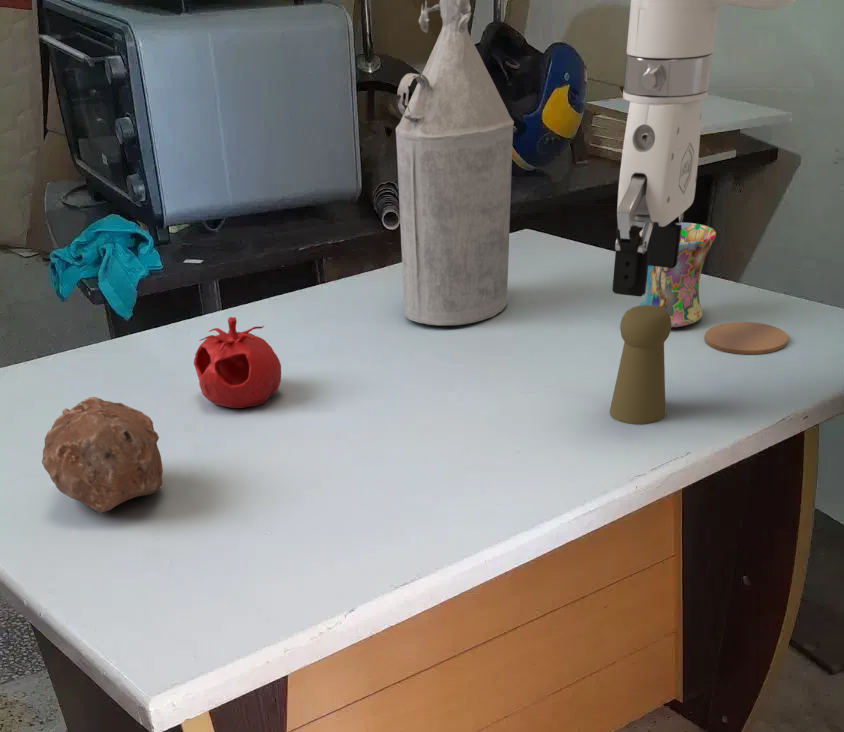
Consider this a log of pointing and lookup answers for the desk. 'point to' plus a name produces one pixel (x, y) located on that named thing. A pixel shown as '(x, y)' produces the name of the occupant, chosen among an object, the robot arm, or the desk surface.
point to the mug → (681, 277)
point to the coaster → (746, 338)
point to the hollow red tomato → (237, 368)
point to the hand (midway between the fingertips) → (645, 279)
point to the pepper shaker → (641, 366)
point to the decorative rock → (103, 454)
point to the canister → (454, 181)
